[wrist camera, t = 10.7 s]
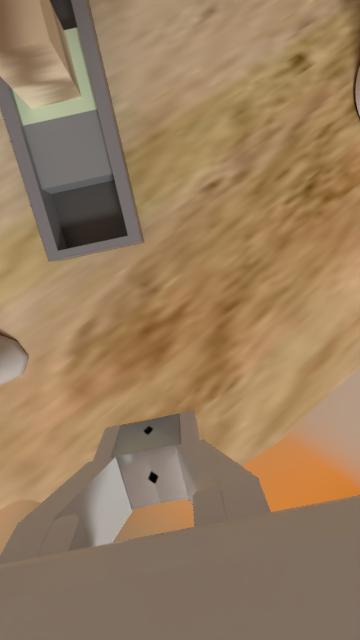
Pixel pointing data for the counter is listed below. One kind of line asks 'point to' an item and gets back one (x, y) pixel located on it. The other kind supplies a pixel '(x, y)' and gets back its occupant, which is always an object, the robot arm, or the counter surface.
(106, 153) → the box
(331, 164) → the counter surface
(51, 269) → the counter surface
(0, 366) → the flask
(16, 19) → the block
